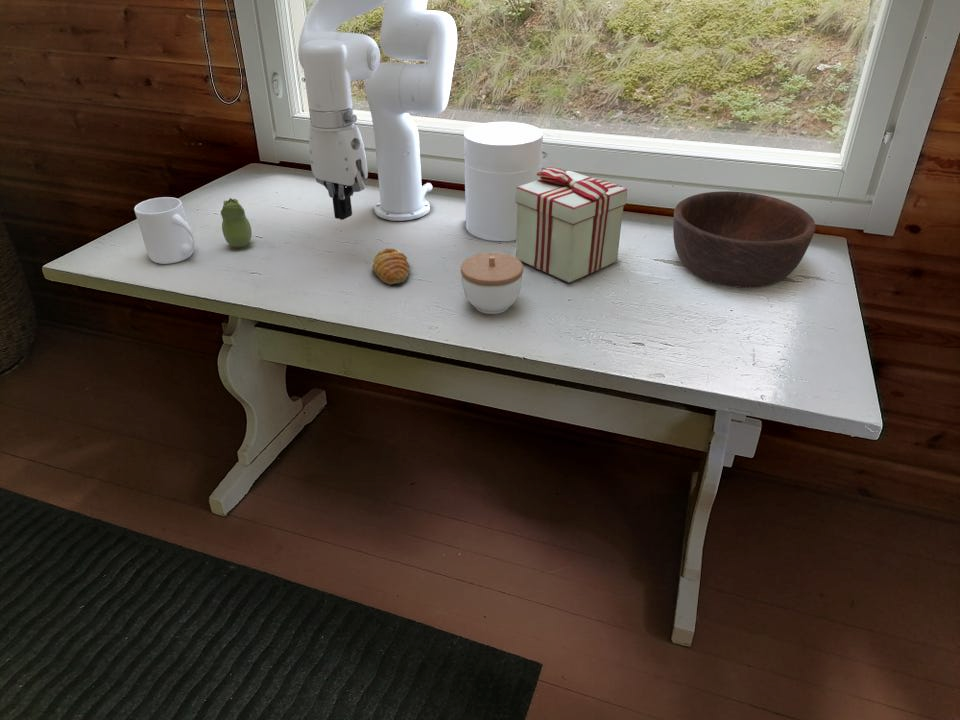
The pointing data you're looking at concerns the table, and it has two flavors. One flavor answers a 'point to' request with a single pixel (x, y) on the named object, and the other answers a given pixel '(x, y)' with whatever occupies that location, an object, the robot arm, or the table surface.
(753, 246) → the wooden bowl
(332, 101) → the robot arm
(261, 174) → the table surface
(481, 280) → the trinket box
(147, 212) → the mug
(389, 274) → the pastry
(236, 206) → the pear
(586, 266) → the gift box
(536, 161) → the canister
